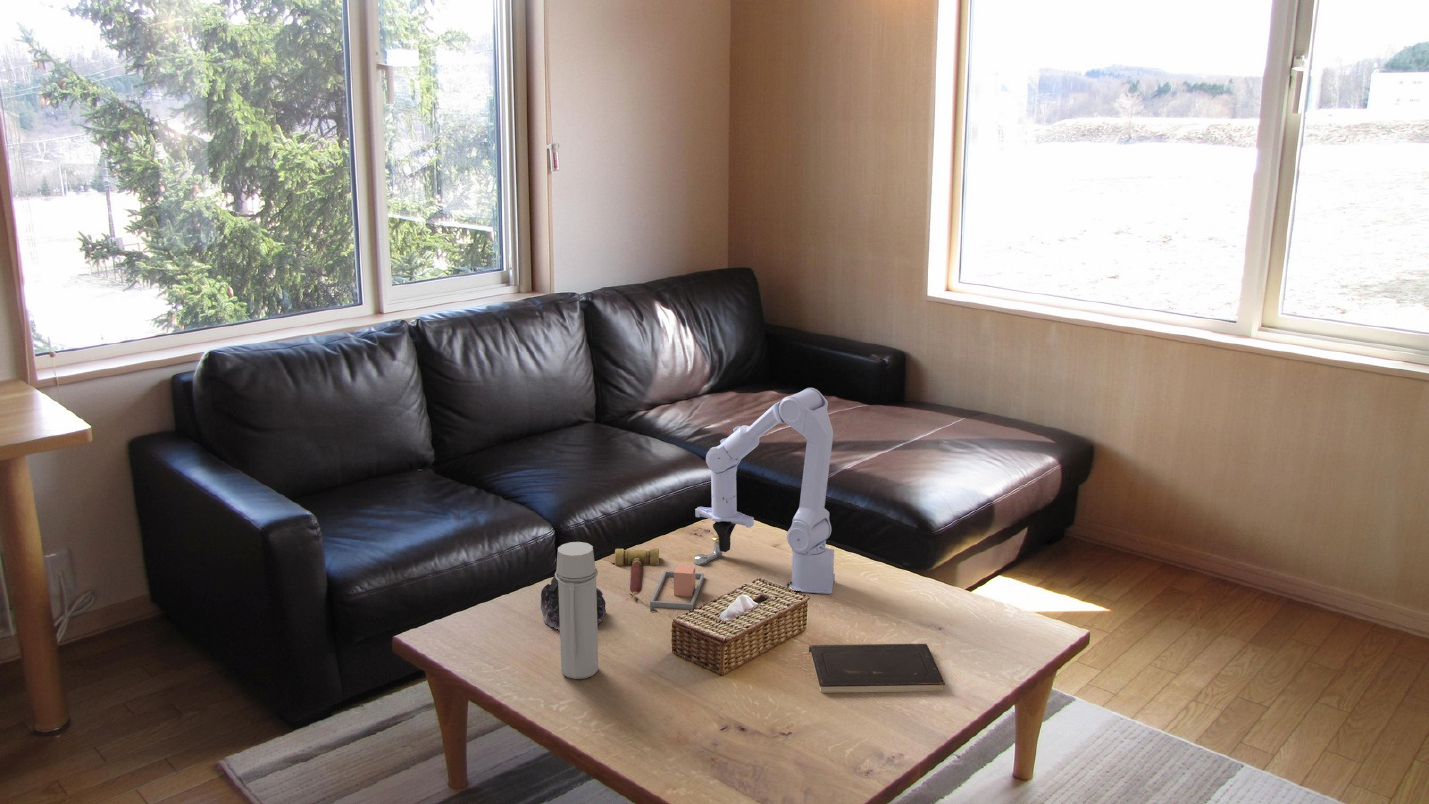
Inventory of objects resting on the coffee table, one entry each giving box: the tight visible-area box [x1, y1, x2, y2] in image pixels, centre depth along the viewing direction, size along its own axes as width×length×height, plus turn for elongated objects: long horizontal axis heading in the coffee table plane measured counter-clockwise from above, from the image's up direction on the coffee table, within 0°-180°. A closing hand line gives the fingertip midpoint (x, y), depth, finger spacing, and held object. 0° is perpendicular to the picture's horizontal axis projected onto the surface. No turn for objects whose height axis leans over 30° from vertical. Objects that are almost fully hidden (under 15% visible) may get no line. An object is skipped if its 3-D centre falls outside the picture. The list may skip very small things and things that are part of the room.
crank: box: [693, 535, 723, 566], centre depth 259 cm, size 8×3×5 cm, turn 134°
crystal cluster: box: [540, 574, 607, 632], centre depth 232 cm, size 13×14×10 cm
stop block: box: [673, 564, 696, 598], centre depth 242 cm, size 4×4×6 cm
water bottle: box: [554, 541, 599, 680], centre depth 208 cm, size 9×8×25 cm
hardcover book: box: [808, 643, 946, 694], centre depth 212 cm, size 16×23×2 cm
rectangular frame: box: [649, 570, 705, 612], centre depth 243 cm, size 9×16×2 cm, turn 172°
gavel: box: [614, 548, 660, 601], centre depth 251 cm, size 21×5×10 cm
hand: (724, 550), depth 261 cm, fingers closed, pressing on crank
